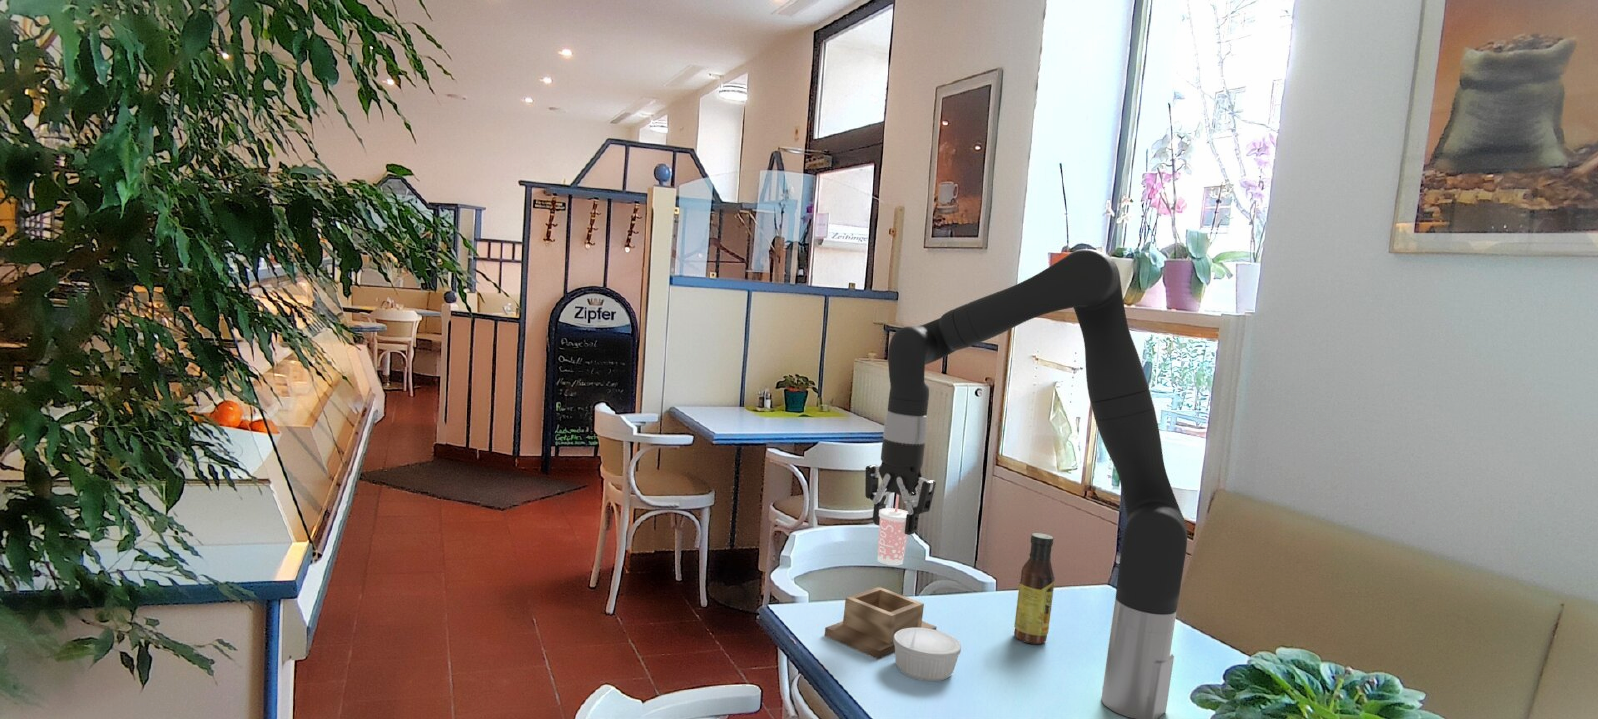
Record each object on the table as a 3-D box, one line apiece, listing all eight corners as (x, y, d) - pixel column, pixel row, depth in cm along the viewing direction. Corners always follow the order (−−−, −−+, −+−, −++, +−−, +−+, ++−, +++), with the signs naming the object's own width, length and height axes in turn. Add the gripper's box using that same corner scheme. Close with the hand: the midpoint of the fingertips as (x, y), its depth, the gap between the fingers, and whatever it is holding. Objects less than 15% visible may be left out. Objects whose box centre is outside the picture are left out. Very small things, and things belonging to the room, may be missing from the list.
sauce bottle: (1047, 648, 168) (1061, 543, 166) (1013, 642, 169) (1026, 538, 167) (1045, 634, 174) (1059, 534, 172) (1012, 629, 176) (1025, 529, 174)
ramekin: (879, 657, 157) (882, 627, 156) (936, 653, 161) (939, 625, 160) (909, 687, 146) (913, 656, 146) (969, 682, 150) (973, 652, 150)
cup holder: (935, 634, 169) (939, 600, 168) (878, 659, 155) (882, 622, 155) (883, 613, 177) (887, 581, 176) (824, 635, 163) (828, 600, 163)
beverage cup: (867, 556, 166) (875, 481, 165) (896, 554, 169) (904, 481, 167) (884, 567, 161) (893, 490, 159) (913, 566, 163) (922, 489, 162)
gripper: (949, 444, 161) (938, 536, 162) (884, 428, 170) (874, 516, 172) (926, 447, 155) (915, 543, 157) (859, 431, 164) (849, 521, 166)
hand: (893, 528), depth 164 cm, fingers closed on beverage cup, 6 cm apart
